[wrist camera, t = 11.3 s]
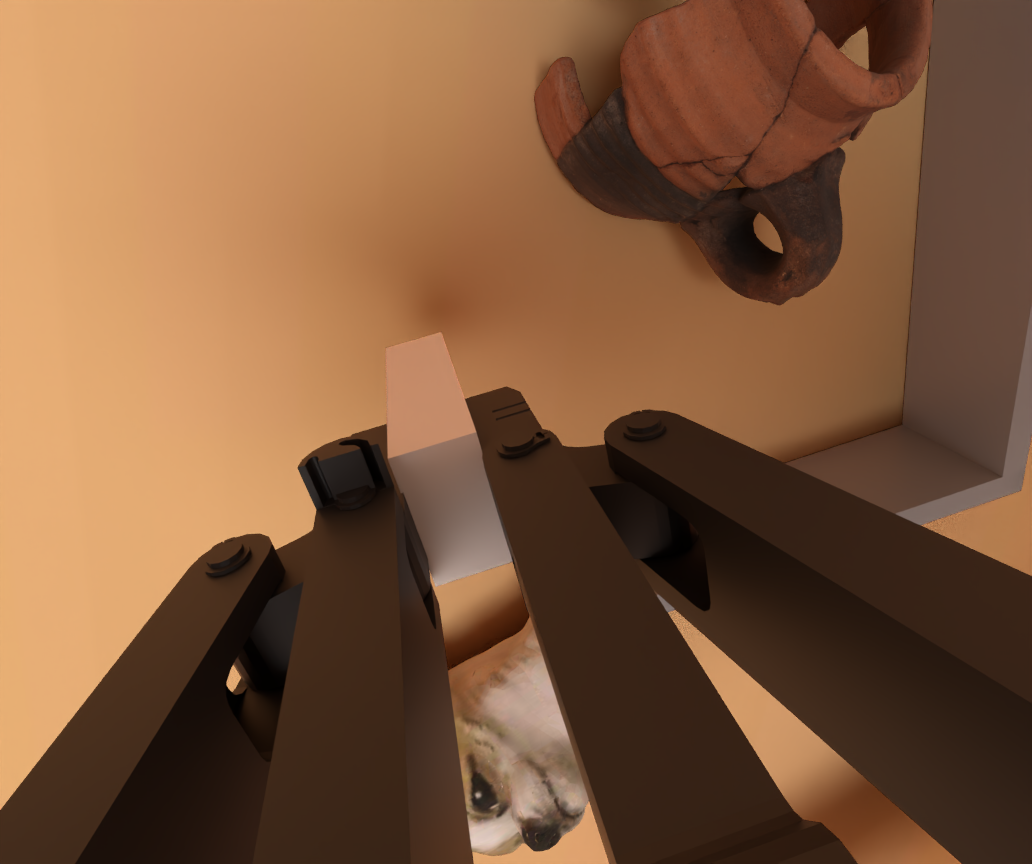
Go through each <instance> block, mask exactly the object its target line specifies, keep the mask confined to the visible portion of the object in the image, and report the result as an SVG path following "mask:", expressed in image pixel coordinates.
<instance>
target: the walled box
mask: <svg viewBox="0 0 1032 864" xmlns="http://www.w3.org/2000/svg"><path fill="white" fill-rule="evenodd" d="M1031 436H1032V0H934V5H933V18H932V32H931V45H930V58H929V72H928V85H927V98H926V112H925V125H924V139H923V152H922V165H921V179H920V192H919V205H918V219H917V232H916V246H915V259H914V272H913V286H912V299H911V312H910V326H909V339H908V353H907V366H906V379H905V393H904V406H903V419H902V425H900V426H897V427H894V428H891V429H888V430H885V431H881V432H878V433H875V434H872V435H869V436H866V437H863V438H860V439H857V440H854V441H851V442H848V443H845V444H842V445H839V446H836V447H833V448H829V449H826V450H823V451H820V452H817V453H814V454H811V455H808V456H805V457H802V458H799V459H796V460H793V461H790V462H787V463H785V464H787V465H789V466H791V467H794V468H796V469H798V470H800V471H802V472H805V473H807V474H809V475H811V476H813V477H816V478H818V479H820V480H822V481H824V482H826V483H829V484H831V485H833V486H835V487H837V488H840V489H842V490H844V491H846V492H848V493H851V494H853V495H855V496H857V497H859V498H861V499H864V500H866V501H868V502H870V503H872V504H875V505H877V506H879V507H881V508H883V509H886V510H888V511H890V512H892V513H894V514H896V515H899V516H901V517H903V518H905V519H907V520H910V521H912V522H914V523H916V524H918V525H923V524H926V523H929V522H931V521H934V520H937V519H940V518H943V517H946V516H949V515H952V514H955V513H958V512H960V511H963V510H966V509H969V508H972V507H975V506H978V505H981V504H984V503H987V502H990V501H992V500H995V499H998V498H1001V497H1004V496H1007V495H1010V494H1013V493H1016V492H1019V491H1021V489H1022V484H1023V479H1024V474H1025V468H1026V463H1027V458H1028V452H1029V447H1030V442H1031ZM654 592H655V591H654ZM655 593H656V592H655ZM656 595H657V597H658V598H659V600H660V601H661V603H662V604H663V606H664V608H665V609H666V611H667V612H670V611H673V610H675V609H674V608H673V607H672V606H671V605H670V604H669V603H667V602H666V601H665V600H664V599H663V598H662V597H661V596H660V595H658V594H657V593H656Z"/></svg>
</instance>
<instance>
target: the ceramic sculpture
mask: <svg viewBox="0 0 1032 864" xmlns="http://www.w3.org/2000/svg"><path fill="white" fill-rule="evenodd" d="M448 676H449V683H450V691H451V698H452V706H453V713H454V721H455V728H456V735H457V743H458V750H459V758H460V765H461V773H462V780H463V788H464V795H465V803H466V810H467V818H468V825H469V833H470V840H471V848H472V852H476V853H480V854H485V855H489V856H500V855H505V854H509V853H511V852H513V851H515V850H516V849H517V848H518V847H519V846H520V845H521V844H522V843H526V844H527V845H528V846H529V847H530V848H531V849H532V850H533V851H544V850H548V849H550V848H551V847H553V846H554V845H556V844H557V842H558V841H559V840H560V838H561V837H562V836H563V835H564V834H566V833H568V832H569V831H571V830H573V829H574V828H575V827H576V826H577V825H578V824H579V823H580V821H581V819H582V818H583V815H584V812H585V807H586V805H587V803H588V802H589V799H588V796H587V792H586V789H585V786H584V783H583V780H582V777H581V774H580V771H579V768H578V764H577V761H576V758H575V755H574V752H573V749H572V746H571V743H570V740H569V736H568V733H567V730H566V727H565V724H564V721H563V718H562V715H561V712H560V708H559V705H558V702H557V699H556V696H555V693H554V690H553V687H552V684H551V680H550V677H549V674H548V671H547V668H546V665H545V662H544V659H543V656H542V652H541V649H540V646H539V643H538V640H537V637H536V634H535V631H534V628H533V624H532V621H531V618H530V617H529V619H528V621H527V623H526V625H525V626H524V628H523V629H522V630H521V631H520V632H518V633H517V634H515V635H514V636H512V637H509V638H507V639H505V640H503V641H502V642H500V643H498V644H497V645H495V646H493V647H492V648H490V649H489V650H487V651H485V652H483V653H481V654H479V655H477V656H474V657H472V658H470V659H468V660H466V661H464V662H463V663H461V664H459V665H457V666H456V667H454V668H452V669H450V670H449V671H448Z"/></svg>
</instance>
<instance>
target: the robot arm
mask: <svg viewBox="0 0 1032 864" xmlns="http://www.w3.org/2000/svg"><path fill="white" fill-rule="evenodd" d="M386 397H387V424H385V425H382V426H379V427H375V428H372V429H369V430H365V431H362V432H359V433H355V434H352V435H351V437H346V438H341V439H338V440H336V441H333V442H330V443H328V444H325V445H323V446H322V447H320V448H318V449H316V450H314V451H313V452H311V453H310V454H309V455H308V456H306V457H305V458H304V459H303V460H302V461H301V463H300V464H299V466H298V470H299V472H300V474H301V477H302V479H303V481H304V483H305V485H306V488H307V490H308V492H309V494H310V496H311V499H312V501H313V503H314V505H315V507H316V510H317V511H316V516H315V522H314V527H313V530H312V531H311V532H309V533H308V534H306V535H304V536H302V537H301V538H299V539H297V540H295V541H293V542H291V543H289V544H287V545H285V546H283V547H281V548H279V549H277V550H275V548H274V546H273V544H272V542H271V540H270V538H269V537H268V536H265V535H262V534H247V535H243V536H240V537H236V538H235V537H233V538H230V539H227V540H225V541H224V543H223V542H221V543H219V544H217V545H215V546H214V547H212V549H211V550H209V551H208V552H207V553H205V554H204V555H202V556H201V557H200V558H199V559H198V560H197V561H196V562H195V563H194V564H193V565H192V566H191V567H190V568H189V569H188V570H187V572H186V573H185V574H184V575H183V577H182V578H181V579H180V581H179V582H178V583H177V584H176V586H175V587H174V588H173V589H172V591H171V592H170V593H169V595H168V596H167V597H166V598H165V600H164V601H163V602H162V604H161V605H160V606H159V607H158V609H157V610H156V611H155V613H154V614H153V615H152V616H151V618H150V619H149V620H148V622H147V623H146V624H145V625H144V627H143V628H142V629H141V631H140V632H139V633H138V634H137V636H136V637H135V638H134V639H133V641H132V642H131V643H130V645H129V646H128V647H127V648H126V650H125V651H124V652H123V654H122V655H121V656H120V657H119V659H118V660H117V661H116V663H115V664H114V665H113V666H112V668H111V669H110V670H109V672H108V673H107V674H106V675H105V677H104V678H103V679H102V681H101V682H100V683H99V684H98V686H97V687H96V688H95V689H94V691H93V692H92V693H91V695H90V696H89V697H88V698H87V700H86V701H85V702H84V704H83V705H82V706H81V707H80V709H79V710H78V711H77V713H76V714H75V715H74V716H73V718H72V719H71V720H70V722H69V723H68V724H67V725H66V727H65V728H64V729H63V731H62V732H61V733H60V734H59V736H58V737H57V738H56V739H55V741H54V742H53V743H52V745H51V746H50V747H49V748H48V750H47V751H46V752H45V754H44V755H43V756H42V757H41V759H40V760H39V761H38V763H37V764H36V765H35V766H34V768H33V769H32V770H31V772H30V773H29V774H28V775H27V777H26V778H25V779H24V781H23V782H22V783H21V784H20V786H19V787H18V788H17V789H16V791H15V792H14V793H13V795H12V796H11V797H10V798H9V800H8V801H7V802H6V804H5V805H4V806H3V807H2V809H1V810H0V864H474V863H473V855H472V848H471V840H470V833H469V825H468V818H467V810H466V803H465V795H464V788H463V780H462V773H461V765H460V758H459V750H458V743H457V735H456V728H455V721H454V713H453V706H452V698H451V691H450V683H449V676H448V668H447V661H446V653H445V646H444V638H443V631H442V623H441V616H440V608H439V603H438V600H437V598H436V595H435V592H434V590H433V587H432V585H431V581H430V573H431V575H432V578H433V581H434V583H435V586H439V585H442V584H446V583H449V582H452V581H455V580H458V579H461V578H464V577H467V576H470V575H473V574H477V573H480V572H483V571H486V570H489V569H492V568H495V567H498V566H501V565H504V564H508V563H511V562H513V564H514V568H515V571H516V574H517V578H518V581H519V585H520V588H521V591H522V595H523V598H524V601H525V605H526V608H527V611H528V612H529V615H530V618H531V621H532V624H533V628H534V631H535V634H536V637H537V640H538V643H539V646H540V649H541V652H542V656H543V659H544V662H545V665H546V668H547V671H548V674H549V677H550V680H551V684H552V687H553V690H554V693H555V696H556V699H557V702H558V705H559V708H560V712H561V715H562V718H563V721H564V724H565V727H566V730H567V733H568V736H569V740H570V743H571V746H572V749H573V752H574V755H575V758H576V761H577V764H578V768H579V771H580V774H581V777H582V780H583V783H584V786H585V789H586V792H587V796H588V799H589V802H590V805H591V808H592V811H593V814H594V817H595V820H596V823H597V827H598V830H599V833H600V836H601V839H602V842H603V845H604V848H605V851H606V855H607V858H608V861H609V864H858V863H857V862H856V861H855V859H854V858H853V857H852V855H851V854H850V853H849V852H848V850H847V849H846V848H845V846H844V845H843V844H842V842H841V841H840V840H839V839H838V838H837V837H836V836H835V835H834V834H833V833H832V832H831V831H829V830H828V829H827V828H826V827H825V826H824V825H823V824H822V823H819V822H813V821H807V820H803V819H802V818H801V817H800V816H799V815H798V814H797V813H795V812H794V811H793V809H792V808H791V806H790V805H789V804H788V802H787V801H786V799H785V798H784V797H783V795H782V793H781V792H780V790H779V789H778V787H777V786H776V784H775V782H774V781H773V779H772V778H771V776H770V774H769V773H768V771H767V770H766V768H765V766H764V765H763V763H762V762H761V760H760V759H759V757H758V755H757V754H756V752H755V751H754V749H753V747H752V746H751V744H750V743H749V741H748V739H747V738H746V736H745V735H744V733H743V732H742V730H741V728H740V727H739V725H738V724H737V722H736V720H735V719H734V717H733V716H732V714H731V712H730V711H729V709H728V708H727V706H726V705H725V703H724V701H723V700H722V698H721V697H720V695H719V693H718V692H717V690H716V689H715V687H714V685H713V684H712V682H711V681H710V679H709V678H708V676H707V674H706V673H705V671H704V670H703V668H702V666H701V665H700V663H699V662H698V660H697V658H696V657H695V655H694V654H693V652H692V651H691V649H690V647H689V646H688V644H687V643H686V641H685V639H684V638H683V636H682V635H681V633H680V631H679V630H678V628H677V627H676V625H675V624H674V622H673V620H672V619H671V617H670V616H669V614H668V612H667V611H666V609H665V608H664V606H663V604H662V603H661V601H660V600H659V598H658V597H657V595H656V593H657V594H658V595H660V596H661V597H662V598H663V599H664V600H665V601H666V602H667V603H669V604H670V605H671V606H672V607H673V608H674V609H675V610H676V611H678V612H679V613H680V614H681V615H682V616H683V617H684V618H685V619H687V620H688V621H689V622H690V623H691V624H692V625H693V626H694V627H696V628H697V629H698V630H699V631H700V632H701V633H702V634H704V635H705V636H706V637H707V638H708V639H709V640H710V641H711V642H713V643H714V644H715V645H716V646H717V647H718V648H719V649H720V650H722V651H723V652H724V653H725V654H726V655H727V656H728V657H729V658H731V659H732V660H733V661H734V662H735V663H736V664H737V665H738V666H740V667H741V668H742V669H743V670H744V671H745V672H746V673H748V674H749V675H750V676H751V677H752V678H753V679H754V680H755V681H757V682H758V683H759V684H760V685H761V686H762V687H763V688H764V689H766V690H767V691H768V692H769V693H770V694H771V695H772V696H773V697H775V698H776V699H777V700H778V701H779V702H780V703H781V704H782V705H784V706H785V707H786V708H787V709H788V710H789V711H790V712H792V713H793V714H794V715H795V716H796V717H797V718H798V719H799V720H801V721H802V722H803V723H804V724H805V725H806V726H807V727H808V728H810V729H811V730H812V731H813V732H814V733H815V734H816V735H817V736H819V737H820V738H821V739H822V740H823V741H824V742H825V743H826V744H828V745H829V746H830V747H831V748H832V749H833V750H834V751H835V752H837V753H838V754H839V755H840V756H841V757H842V758H843V759H845V760H846V761H847V762H848V763H849V764H850V765H851V766H852V767H854V768H855V769H856V770H857V771H858V772H859V773H860V774H861V775H863V776H864V777H865V778H866V779H867V780H868V781H869V782H870V783H872V784H873V785H874V786H875V787H876V788H877V789H878V790H879V791H881V792H882V793H883V794H884V795H885V796H886V797H887V798H889V799H890V800H891V801H892V802H893V803H894V804H895V805H896V806H898V807H899V808H900V809H901V810H902V811H903V812H904V813H905V814H907V815H908V816H909V817H910V818H911V819H912V820H913V821H914V822H916V823H917V824H918V825H919V826H920V827H921V828H922V829H923V830H925V831H926V832H927V833H928V834H929V835H930V836H931V837H933V838H934V839H935V840H936V841H937V842H938V843H939V844H940V845H942V846H943V847H944V848H945V849H946V850H947V851H948V852H949V853H951V854H952V855H953V856H954V857H955V858H956V859H957V860H958V861H960V862H961V863H962V864H1032V576H1030V575H1028V574H1026V573H1023V572H1021V571H1019V570H1017V569H1015V568H1012V567H1010V566H1008V565H1006V564H1004V563H1001V562H999V561H997V560H995V559H993V558H991V557H988V556H986V555H984V554H982V553H980V552H977V551H975V550H973V549H971V548H969V547H966V546H964V545H962V544H960V543H958V542H956V541H953V540H951V539H949V538H947V537H945V536H942V535H940V534H938V533H936V532H934V531H931V530H929V529H927V528H925V527H923V526H921V525H918V524H916V523H914V522H912V521H910V520H907V519H905V518H903V517H901V516H899V515H896V514H894V513H892V512H890V511H888V510H886V509H883V508H881V507H879V506H877V505H875V504H872V503H870V502H868V501H866V500H864V499H861V498H859V497H857V496H855V495H853V494H851V493H848V492H846V491H844V490H842V489H840V488H837V487H835V486H833V485H831V484H829V483H826V482H824V481H822V480H820V479H818V478H816V477H813V476H811V475H809V474H807V473H805V472H802V471H800V470H798V469H796V468H794V467H791V466H789V465H787V464H785V463H783V462H781V461H778V460H776V459H774V458H772V457H770V456H767V455H765V454H763V453H761V452H759V451H756V450H754V449H752V448H750V447H748V446H746V445H743V444H741V443H739V442H737V441H735V440H732V439H730V438H728V437H726V436H724V435H721V434H719V433H717V432H715V431H713V430H711V429H708V428H706V427H704V426H702V425H700V424H697V423H695V422H693V421H691V420H689V419H686V418H684V417H682V416H680V415H678V414H675V413H671V412H667V411H655V410H642V412H640V411H636V412H632V413H631V414H629V415H626V416H623V417H620V418H619V419H617V420H615V421H614V422H612V423H610V425H609V426H608V427H607V428H606V430H605V431H604V440H605V445H597V446H590V447H566V446H562V444H561V442H560V441H559V439H558V438H557V436H556V435H555V434H553V433H552V432H551V431H549V430H544V429H542V428H541V426H540V424H539V423H538V421H537V419H536V418H535V416H534V414H533V413H532V411H531V410H530V408H529V406H528V404H527V403H526V401H525V399H524V398H523V396H522V394H521V393H520V392H519V391H516V390H514V389H511V388H509V387H503V388H500V389H497V390H493V391H490V392H487V393H483V394H480V395H477V396H473V397H470V398H467V399H465V398H464V395H463V393H462V390H461V387H460V384H459V381H458V378H457V375H456V373H455V370H454V367H453V364H452V361H451V358H450V355H449V353H448V350H447V347H446V344H445V341H444V338H443V335H442V333H441V332H439V333H436V334H432V335H429V336H425V337H422V338H418V339H415V340H411V341H408V342H404V343H401V344H397V345H394V346H391V347H387V348H386ZM429 570H430V572H429ZM654 591H655V592H656V593H655V592H654ZM233 665H234V666H235V668H236V670H237V671H238V673H239V674H240V676H241V679H240V681H239V683H238V685H237V687H236V689H235V690H234V691H233V692H231V691H230V690H229V689H228V687H227V686H226V682H227V679H228V676H229V673H230V670H231V667H232V666H233Z"/></svg>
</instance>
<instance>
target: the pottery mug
mask: <svg viewBox="0 0 1032 864" xmlns="http://www.w3.org/2000/svg"><path fill="white" fill-rule="evenodd" d="M932 16H933V6H932V0H808V2H807V3H805V1H804V0H687V1H686V2H684V3H682V4H680V5H677V6H674V7H672V8H669V9H666V10H665V11H663V12H661V13H658V14H656V15H653V16H650V17H647V18H645V19H643V20H641V21H639V22H638V23H637V24H636V26H635V28H634V31H633V32H632V34H631V35H630V36H629V37H628V39H627V41H626V42H625V45H624V48H623V50H622V52H621V56H620V67H621V78H622V86H621V87H620V88H618V89H615V90H614V91H613V92H612V93H611V95H610V96H609V97H608V99H607V100H606V102H605V103H604V105H603V106H602V108H601V109H600V110H599V111H598V113H597V114H596V115H595V116H594V117H593V119H592V118H591V115H590V113H589V110H588V108H587V106H586V104H585V102H584V98H583V94H582V92H581V89H580V85H579V81H578V78H577V73H576V69H575V64H574V61H573V60H572V59H571V58H569V57H561V58H559V59H557V60H556V61H555V62H554V63H553V64H552V66H551V67H550V69H549V71H548V74H547V76H546V77H545V78H544V80H543V81H542V83H541V85H540V86H539V87H538V88H537V90H536V92H535V98H534V100H535V105H536V111H537V117H538V121H539V123H540V127H541V129H542V132H543V136H544V138H545V140H546V143H547V144H548V146H549V148H550V150H551V153H552V155H553V156H554V158H555V159H556V160H557V163H558V166H559V167H560V169H561V170H562V172H563V173H564V175H565V176H566V177H567V178H568V180H569V181H570V182H571V183H572V184H573V186H574V188H575V189H576V190H577V191H578V192H579V193H580V194H582V195H583V196H584V197H586V198H587V199H588V200H589V201H590V202H591V203H592V204H594V205H595V206H596V207H598V208H600V209H601V210H603V211H605V212H607V213H610V214H612V215H617V216H621V217H625V218H631V219H648V220H654V221H662V222H671V223H680V226H681V228H682V229H683V230H684V231H686V232H687V233H688V234H689V235H690V236H691V237H692V238H693V239H694V240H695V242H696V244H697V245H698V246H699V248H700V250H701V252H702V253H703V255H704V257H705V258H706V260H707V262H708V264H709V265H710V267H711V268H712V269H713V270H714V272H715V273H716V275H717V276H718V277H719V278H720V279H721V280H722V281H723V282H724V283H725V284H726V285H727V286H728V287H730V288H731V289H732V290H734V291H735V292H737V293H738V294H740V295H742V296H744V297H747V298H750V299H754V300H758V301H763V302H771V303H773V304H776V305H782V304H784V303H785V302H786V301H787V300H789V299H790V298H792V297H800V296H803V295H804V294H806V293H807V292H808V291H810V290H811V289H812V288H815V287H817V286H818V285H819V284H820V283H821V282H822V281H823V280H824V279H825V278H826V277H827V276H828V274H829V273H830V271H831V269H832V268H833V266H834V265H835V263H836V261H837V259H838V256H839V253H840V249H841V244H842V213H841V207H840V198H839V178H840V174H841V170H842V167H843V164H844V162H845V152H844V151H843V150H842V149H841V148H838V147H839V146H841V145H842V144H843V143H844V142H846V141H847V140H848V139H850V140H852V141H854V140H855V139H856V138H857V137H858V136H859V135H860V133H861V132H862V130H863V129H864V127H865V125H866V124H867V122H868V121H869V119H870V118H871V116H872V114H873V113H874V112H876V111H878V110H881V109H884V108H887V107H892V106H894V105H896V104H897V103H899V102H900V100H902V99H903V98H905V97H906V96H907V94H909V93H910V92H911V91H912V89H913V88H914V86H915V84H916V83H917V81H918V79H919V78H920V77H921V74H922V72H923V70H924V67H925V64H926V62H927V58H928V49H929V47H930V44H931V32H932ZM865 26H866V28H867V32H868V45H869V70H866V69H864V68H862V67H860V66H858V65H857V64H855V63H854V62H852V61H851V60H850V59H849V58H847V57H846V56H845V55H844V54H843V53H842V52H840V51H839V50H838V49H840V48H841V47H842V46H843V45H844V43H845V42H846V41H847V39H848V38H850V37H851V36H852V35H853V34H855V33H856V32H857V31H859V30H860V29H862V28H864V27H865ZM735 176H736V177H738V178H739V180H740V181H741V182H742V183H743V184H744V185H745V186H746V187H743V188H733V189H729V190H723V189H724V187H725V186H726V185H727V184H728V183H730V181H731V179H732V178H733V177H735ZM721 190H722V191H721ZM759 212H760V213H761V214H763V215H764V216H765V217H766V218H767V219H768V220H769V221H770V222H771V223H772V224H773V226H774V227H775V229H776V231H777V232H778V234H779V237H780V240H781V242H782V246H783V254H782V253H779V252H775V251H772V250H771V249H769V248H768V247H767V246H765V245H764V244H763V243H762V242H761V241H760V240H759V239H758V238H757V236H756V234H755V233H754V226H753V221H754V219H755V217H756V215H757V214H758V213H759Z"/></svg>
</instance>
